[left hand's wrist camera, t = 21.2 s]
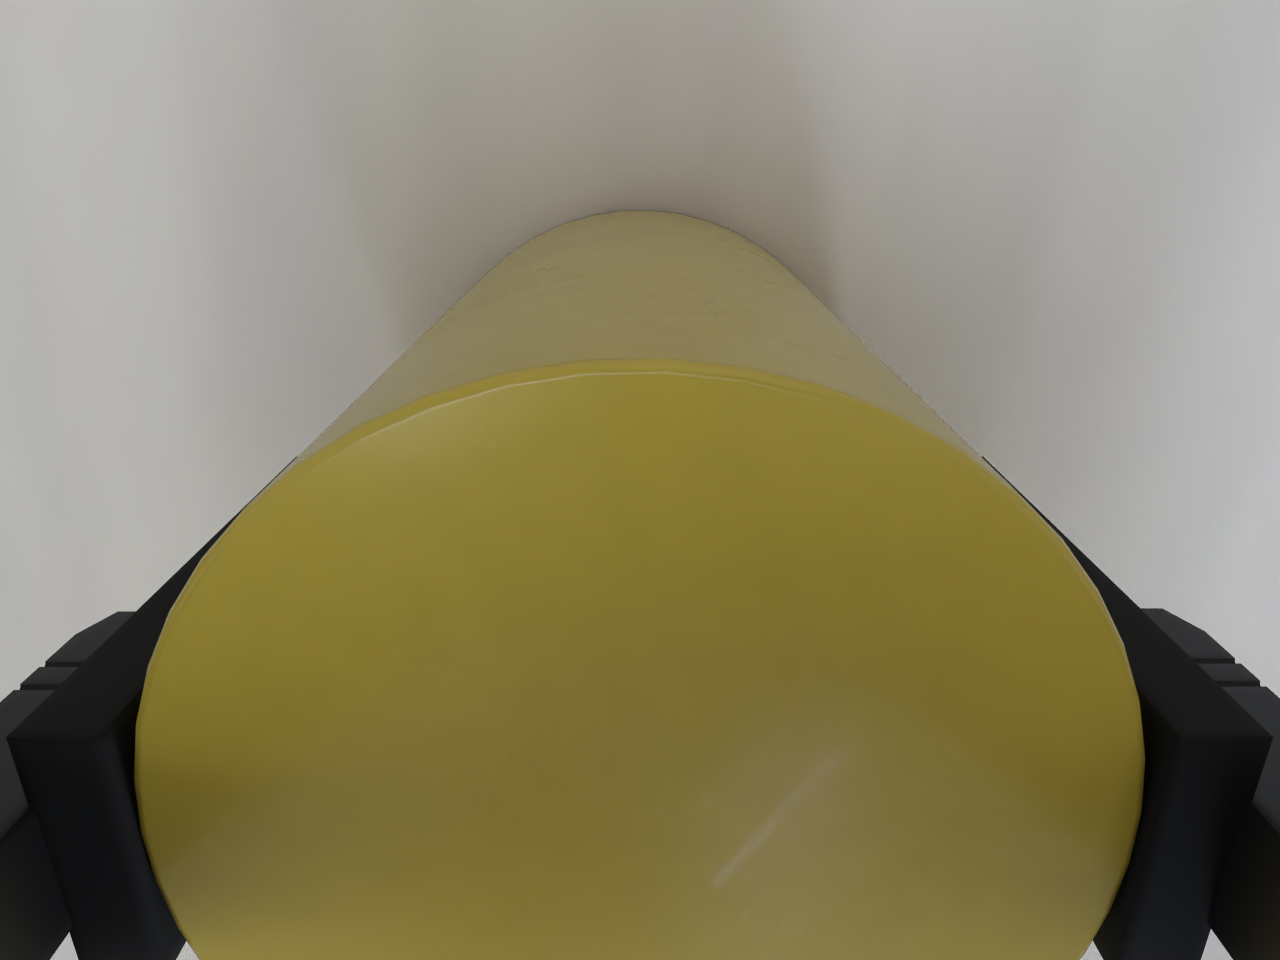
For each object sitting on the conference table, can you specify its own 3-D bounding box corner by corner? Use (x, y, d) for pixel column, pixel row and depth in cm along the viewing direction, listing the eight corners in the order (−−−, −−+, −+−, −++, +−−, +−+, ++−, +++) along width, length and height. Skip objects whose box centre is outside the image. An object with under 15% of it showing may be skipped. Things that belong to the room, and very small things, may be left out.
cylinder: (926, 324, 18) (1379, 638, 7) (729, 658, 21) (830, 1248, 10) (525, 129, 16) (299, 138, 6) (376, 517, 19) (37, 1021, 9)
